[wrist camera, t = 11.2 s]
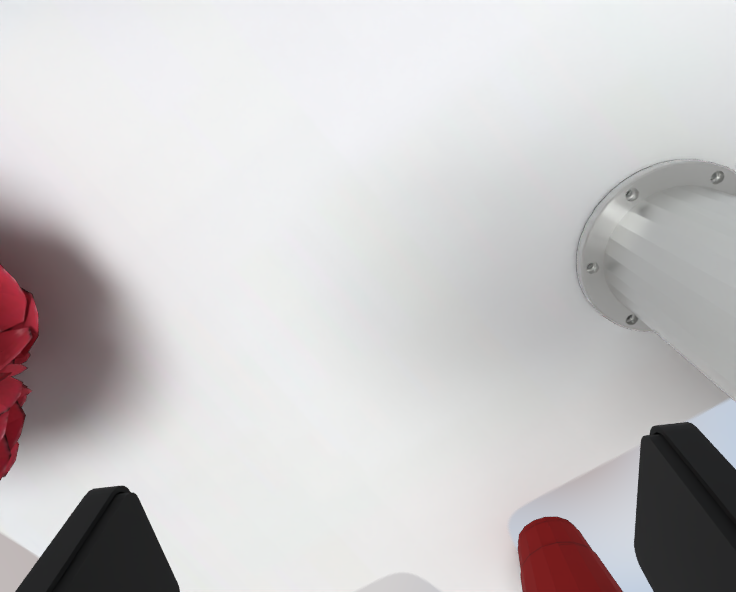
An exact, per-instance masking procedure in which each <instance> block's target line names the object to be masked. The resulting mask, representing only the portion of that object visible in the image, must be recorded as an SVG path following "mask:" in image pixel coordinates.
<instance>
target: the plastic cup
mask: <svg viewBox="0 0 736 592" xmlns="http://www.w3.org/2000/svg"><path fill="white" fill-rule="evenodd" d="M518 554H519V561H520V568H521V583H522V590H523V592H623V591H622V590H621V588H620V587H619V585H618V584H617V583H616V581H615V580H614V578H613V577H612V576H611V574H610V573H609V571H608V570H607V568H606V567H605V566H604V564H603V563H602V561H601V560H600V558H599V557H598V556H597V554H596V553H595V552H594V551H593V550H592V549H591V547H590V546H589V544H588V543H587V542H586V540H585V539H584V537H583V536H582V534H581V533H580V531H579V530H578V529H576V527H575V526H574V525H573V524H572V523H570V522H569V521H568V520H566V519H562V518H559V517H543V518H540V519H537V520H534V521H532V522H531V523H529V524H528V525H526V526H525V527H524V528H523V530H522V531H521V533H520V534H519V540H518Z"/></svg>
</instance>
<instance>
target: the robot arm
mask: <svg viewBox="0 0 736 592" xmlns="http://www.w3.org/2000/svg"><path fill="white" fill-rule="evenodd" d="M628 190H629V193H628V194H627V195H626V193H627V191H628ZM590 263H591V264H590ZM589 264H590V265H589ZM588 265H589V266H588ZM587 266H588V267H587ZM577 274H578V279H579V284H580V286H581V288H582V290H583V292H584V295H585V297H586V298H587V299H588V300H589V302H590V303H591V304H592V306H593V307H594V308H595V309H596V310H597V311H598V312H600V313H601V314H602V315H603V316H604V317H605V318H607V319H608V320H610V321H612V322H613V323H615V324H617V325H619V326H622V327H624V328H627V329H632V330H638V331H644V332H648V331H654V332H655V333H657V334H658V335H659V336H660V337H661V338H662V339H663V340H665V341H666V342H667V343H668V344H669V345H670V346H672V347H673V348H674V349H675V350H676V351H677V352H678V353H680V354H681V355H682V356H683V357H684V358H685V359H687V360H688V361H689V362H690V363H691V364H692V365H693V366H695V367H696V368H697V369H698V370H699V371H700V372H702V373H703V374H704V375H705V376H706V377H707V378H708V379H710V380H711V381H712V382H713V383H714V384H715V385H717V386H718V387H719V388H720V389H721V390H722V391H723V392H725V393H726V394H727V395H728V396H729V397H730V398H732V399H733V400H734V401H735V402H736V172H735V171H733V170H731V169H730V168H728V167H725V166H722V165H719V164H715V163H712V162H707V161H701V160H696V159H688V160H673V161H668V162H663V163H659V164H656V165H653V166H651V167H648V168H646V169H643V170H641V171H639V172H637V173H636V174H634V175H632V176H631V177H629V178H627V179H625V180H624V181H623V182H621V183H620V184H619V185H618V186H617V187H615V188H614V189H613V190H612V191H611V192H609V193H608V194H607V196H606V197H605V198H604V199H603V200H602V201H601V202H600V203H599V205H598V206H597V207H596V208H595V210H594V212H593V213H592V215H591V216H590V218H589V220H588V221H587V223H586V225H585V228H584V230H583V233H582V235H581V237H580V241H579V246H578V251H577ZM634 548H635V553H636V557H637V560H638V563H639V565H640V567H641V569H642V571H643V573H644V574H645V576H646V578H647V580H648V582H649V584H650V586H651V587H652V589H653V591H654V592H736V469H735V468H734V467H733V466H732V465H731V464H730V463H729V462H728V461H727V460H726V459H725V458H724V457H723V455H722V454H721V453H720V452H719V451H718V450H717V449H716V448H715V447H714V446H713V445H712V443H710V441H709V440H708V439H707V438H706V437H705V436H704V435H703V434H702V433H701V432H700V431H699V429H698V428H697V427H696V426H694V425H693V424H692V423H689V422H684V423H675V424H666V425H657V426H653V427H652V428H651V430H650V435H646V436H643V437H642V439H641V448H640V463H639V479H638V493H637V508H636V523H635V539H634ZM16 592H180V589H179V585H178V583H177V581H176V579H175V576H174V574H173V572H172V570H171V568H170V566H169V563H168V561H167V559H166V557H165V555H164V553H163V550H162V548H161V546H160V544H159V542H158V540H157V537H156V535H155V533H154V531H153V529H152V526H151V524H150V522H149V520H148V518H147V516H146V513H145V511H144V509H143V507H142V505H141V503H140V500H139V498H138V496H137V495H136V494H135V493H131V492H130V491H129V489H128V488H127V487H125V486H114V487H105V488H96V489H92V490H90V491H89V492H88V493H87V494H86V495H85V496H84V498H83V499H82V500H81V502H80V503H79V505H78V506H77V507H76V509H75V510H74V512H73V513H72V514H71V516H70V517H69V518H68V520H67V521H66V523H65V524H64V525H63V527H62V528H61V529H60V531H59V532H58V534H57V535H56V536H55V538H54V539H53V540H52V542H51V543H50V545H49V546H48V547H47V549H46V550H45V551H44V553H43V554H42V556H41V557H40V558H39V560H38V561H37V563H36V564H35V565H34V567H33V568H32V570H31V571H30V572H29V574H28V575H27V576H26V578H25V579H24V580H23V582H22V583H21V585H20V586H19V587H18V589H17V590H16Z"/></svg>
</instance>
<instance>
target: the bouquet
mask: <svg viewBox="0 0 736 592" xmlns="http://www.w3.org/2000/svg"><path fill="white" fill-rule="evenodd" d="M38 336H39V329H38V311H37V308H36V305H35V301H34V298H33V295H32V293H30V292H28V291H26V290H24V289H23V288H21V287H19V285H18V283H17V282H16V280H15V279H14V278H13V277H12V276H11V275H10V274H9V273H8V272H7V271H6V270H5V269H4V268H3V266H2V265H1V264H0V480H1V478H2V477H5V476H6V474H7V473H8V471H9V470H10V468H11V467H12V465H13V464H14V462H15V461H16V456H17V452H18V447H19V443H18V442H17V441H18V439H19V437H20V435H21V432H22V428H23V424H24V420H25V417H26V415H25V413H24V411H23V410H22V408H21V407H22V406H23V404H24V403H25V401H26V397H27V395H28V394H29V393H30V392H32V390H30V389H29V388H27V386H25V385H24V384H23V382H21V381H19V380H17V379H14V378H12V377H11V376H14V375H17V374H20V373H21V372H23V371H24V370H26V369H27V367H26V366H24V365H21V364H22V363H24V362H26V361H27V360H28V358H29V357H30V354H29V352H28V351H29V350H30V348H31V347H32V345H33V344H34V342H35V341H36V339H37V337H38Z"/></svg>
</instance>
